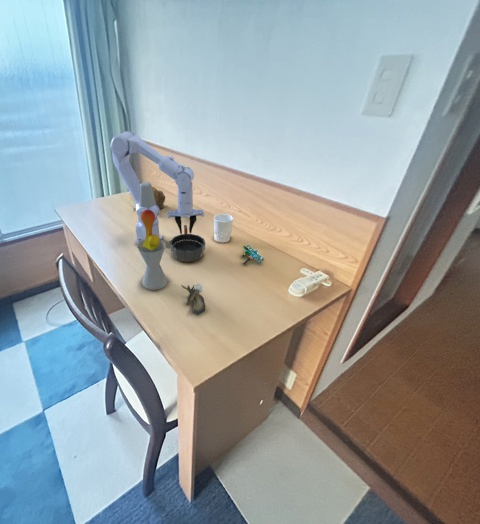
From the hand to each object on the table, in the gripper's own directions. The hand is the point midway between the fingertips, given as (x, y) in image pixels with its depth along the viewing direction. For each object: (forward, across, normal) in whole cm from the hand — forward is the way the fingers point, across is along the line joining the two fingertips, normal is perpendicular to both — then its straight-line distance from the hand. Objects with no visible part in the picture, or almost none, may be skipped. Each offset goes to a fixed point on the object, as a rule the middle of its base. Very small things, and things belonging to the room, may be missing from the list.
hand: (185, 232), depth 116 cm
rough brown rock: (+6, -15, +40) cm, 44 cm away
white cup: (+6, +16, +3) cm, 17 cm away
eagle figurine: (+6, -1, -37) cm, 38 cm away
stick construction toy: (+6, +23, -14) cm, 28 cm away
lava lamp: (+6, -13, -24) cm, 28 cm away
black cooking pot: (+5, 0, -7) cm, 8 cm away
